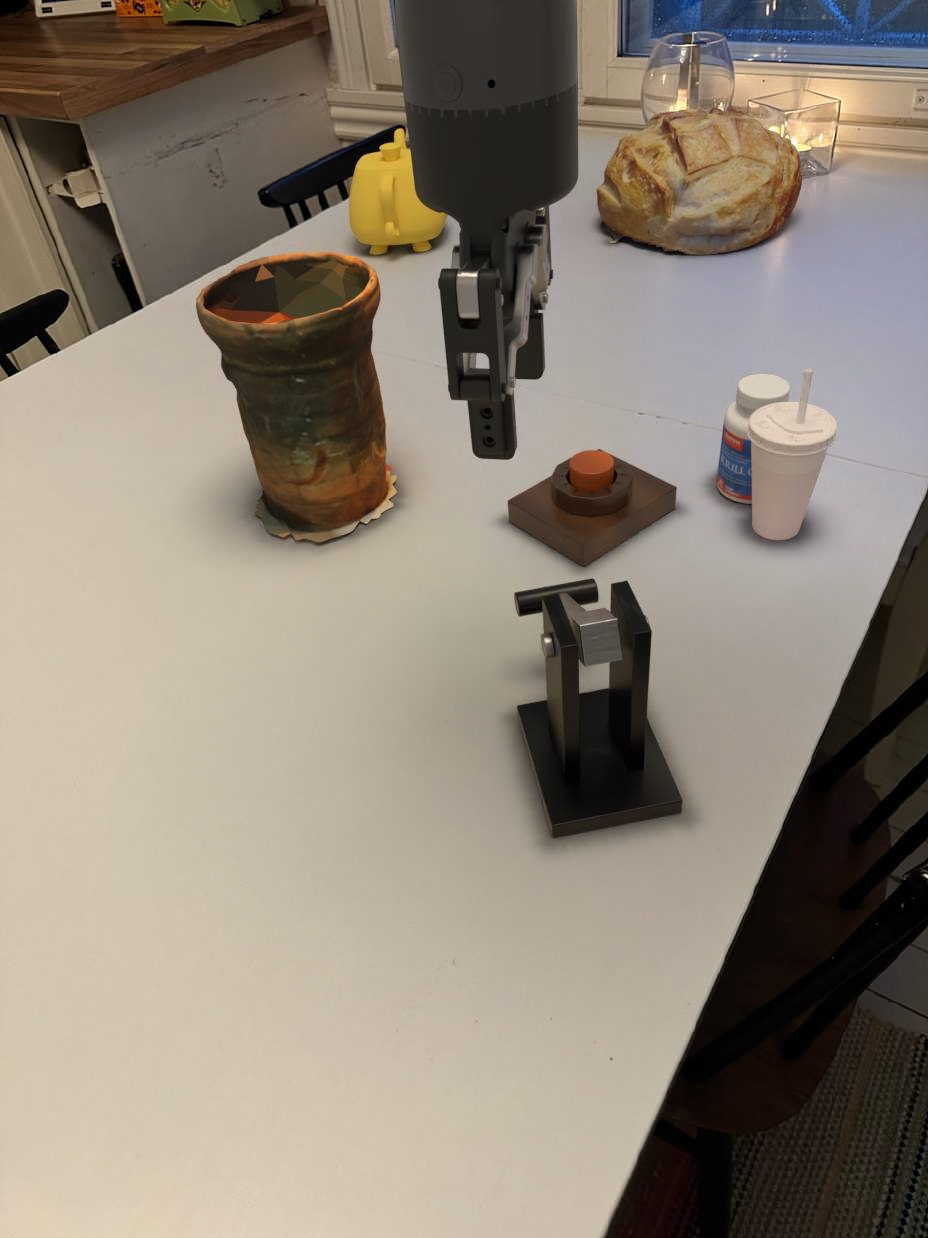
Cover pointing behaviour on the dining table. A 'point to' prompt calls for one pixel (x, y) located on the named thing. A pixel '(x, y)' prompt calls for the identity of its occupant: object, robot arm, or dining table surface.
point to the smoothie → (787, 461)
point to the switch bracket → (597, 729)
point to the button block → (591, 510)
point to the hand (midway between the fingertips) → (511, 413)
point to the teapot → (390, 201)
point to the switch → (579, 619)
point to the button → (591, 470)
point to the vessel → (305, 387)
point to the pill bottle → (744, 433)
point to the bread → (700, 182)
